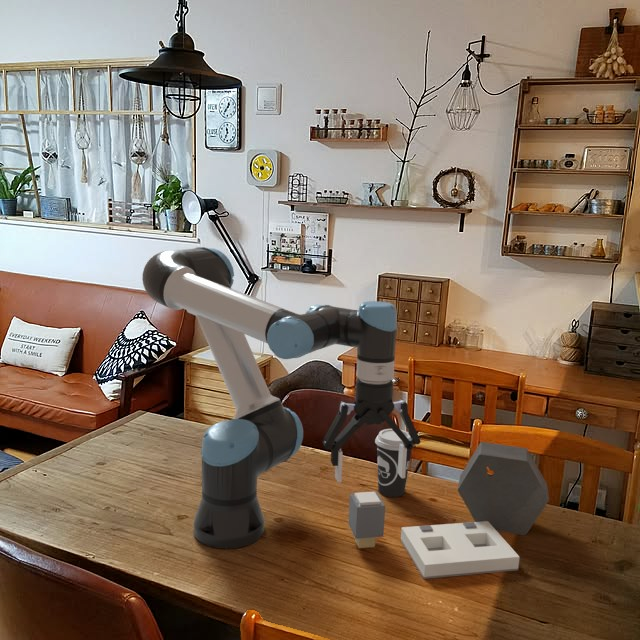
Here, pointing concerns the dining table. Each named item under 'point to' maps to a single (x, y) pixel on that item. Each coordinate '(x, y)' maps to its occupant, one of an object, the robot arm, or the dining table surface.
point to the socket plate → (458, 549)
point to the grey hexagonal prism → (503, 488)
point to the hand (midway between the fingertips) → (370, 477)
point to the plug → (366, 518)
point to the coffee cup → (390, 463)
